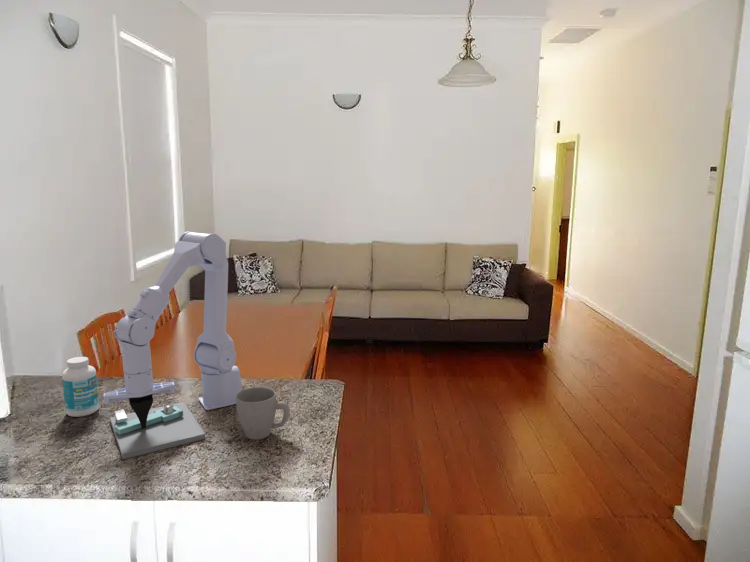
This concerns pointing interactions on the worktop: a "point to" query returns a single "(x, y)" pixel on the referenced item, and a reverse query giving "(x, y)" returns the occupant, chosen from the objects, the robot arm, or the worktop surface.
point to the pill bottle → (80, 387)
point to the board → (158, 433)
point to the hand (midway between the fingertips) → (143, 427)
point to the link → (148, 420)
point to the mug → (259, 411)
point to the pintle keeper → (122, 418)
